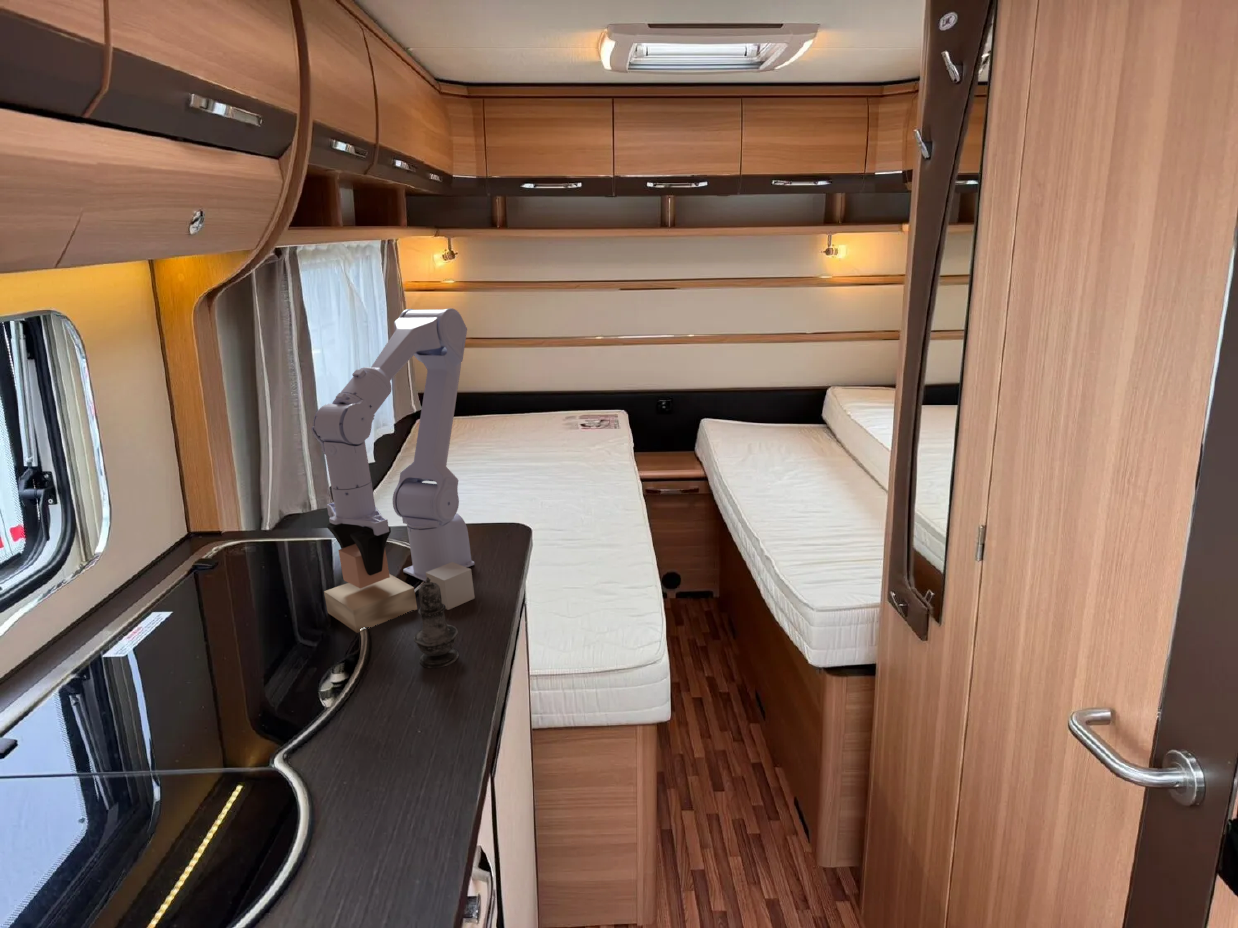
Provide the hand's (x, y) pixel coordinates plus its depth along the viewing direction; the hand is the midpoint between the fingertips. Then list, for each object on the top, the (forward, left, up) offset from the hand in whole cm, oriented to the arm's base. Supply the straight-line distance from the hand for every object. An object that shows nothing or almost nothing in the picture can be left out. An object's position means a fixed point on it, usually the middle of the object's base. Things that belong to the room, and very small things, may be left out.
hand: (365, 568), depth 131 cm
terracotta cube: (0, 0, -2) cm, 2 cm away
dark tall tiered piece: (+2, +21, -7) cm, 22 cm away
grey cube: (-10, +7, -7) cm, 14 cm away
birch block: (0, 0, -8) cm, 8 cm away
